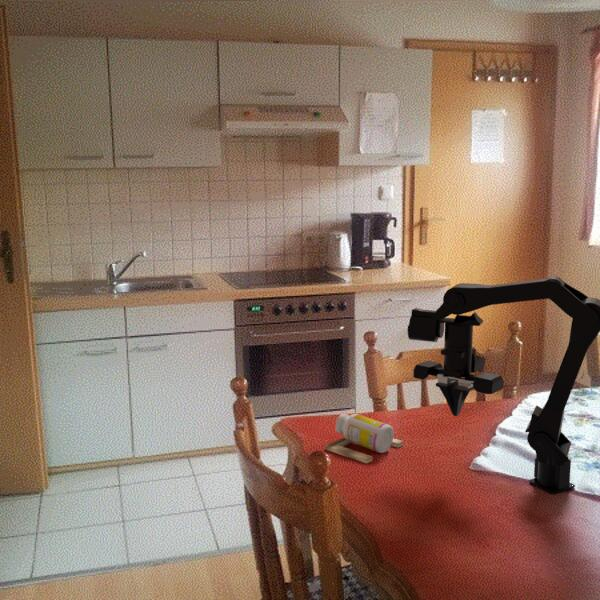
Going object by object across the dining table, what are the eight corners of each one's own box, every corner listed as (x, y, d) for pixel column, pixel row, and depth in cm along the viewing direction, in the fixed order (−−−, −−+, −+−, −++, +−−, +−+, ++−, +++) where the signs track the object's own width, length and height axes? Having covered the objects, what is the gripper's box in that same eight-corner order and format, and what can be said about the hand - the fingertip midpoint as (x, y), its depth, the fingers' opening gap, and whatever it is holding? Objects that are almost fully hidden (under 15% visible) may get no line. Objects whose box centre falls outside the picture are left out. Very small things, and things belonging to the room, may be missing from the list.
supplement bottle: (397, 434, 166) (352, 417, 174) (389, 420, 161) (342, 404, 169) (384, 459, 164) (339, 441, 171) (375, 446, 159) (329, 428, 167)
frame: (403, 445, 168) (403, 440, 168) (366, 463, 158) (366, 457, 157) (362, 433, 176) (362, 428, 176) (325, 449, 166) (325, 444, 165)
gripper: (517, 344, 149) (514, 415, 152) (440, 331, 162) (438, 397, 164) (492, 354, 141) (489, 429, 144) (412, 340, 154) (410, 409, 156)
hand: (456, 415), depth 152 cm, fingers closed
